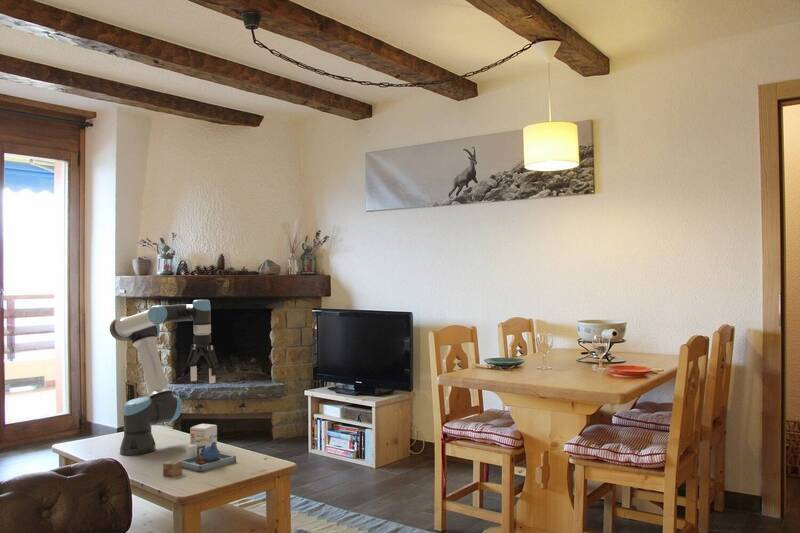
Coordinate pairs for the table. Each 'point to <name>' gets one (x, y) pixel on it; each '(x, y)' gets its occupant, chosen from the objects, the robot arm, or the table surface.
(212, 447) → the model
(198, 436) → the ink box
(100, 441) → the table surface
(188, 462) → the tray
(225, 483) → the table surface
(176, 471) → the walnut cube
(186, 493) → the table surface
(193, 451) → the white egg
